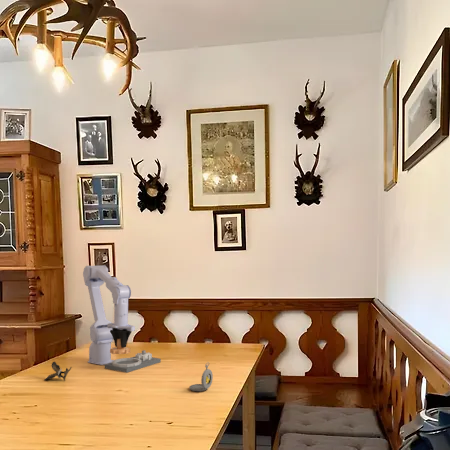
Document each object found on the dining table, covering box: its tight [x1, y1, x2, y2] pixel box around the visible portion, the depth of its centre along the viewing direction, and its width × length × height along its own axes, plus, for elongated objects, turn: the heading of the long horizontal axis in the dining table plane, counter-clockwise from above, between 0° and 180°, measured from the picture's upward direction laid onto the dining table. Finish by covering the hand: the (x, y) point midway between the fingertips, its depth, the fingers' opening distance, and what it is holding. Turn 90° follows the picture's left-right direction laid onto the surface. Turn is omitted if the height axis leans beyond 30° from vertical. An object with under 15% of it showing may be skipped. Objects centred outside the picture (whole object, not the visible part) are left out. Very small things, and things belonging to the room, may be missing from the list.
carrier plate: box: [104, 349, 162, 374], centre depth 200 cm, size 13×21×5 cm, turn 147°
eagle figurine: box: [44, 361, 72, 381], centre depth 178 cm, size 8×7×9 cm
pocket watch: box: [188, 362, 214, 392], centre depth 165 cm, size 8×8×10 cm
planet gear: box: [110, 339, 131, 355], centre depth 194 cm, size 8×8×6 cm
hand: (120, 346), depth 194 cm, fingers closed on planet gear, 3 cm apart
